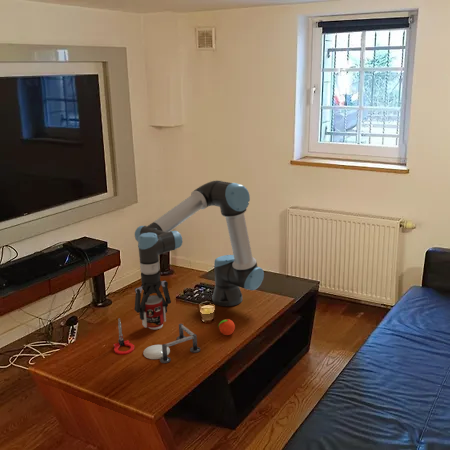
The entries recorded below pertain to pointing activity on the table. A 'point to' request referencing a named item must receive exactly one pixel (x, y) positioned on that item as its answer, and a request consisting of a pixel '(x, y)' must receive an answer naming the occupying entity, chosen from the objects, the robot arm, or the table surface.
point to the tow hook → (122, 342)
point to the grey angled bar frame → (180, 339)
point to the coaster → (154, 352)
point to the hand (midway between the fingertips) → (154, 323)
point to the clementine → (227, 327)
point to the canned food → (154, 311)
